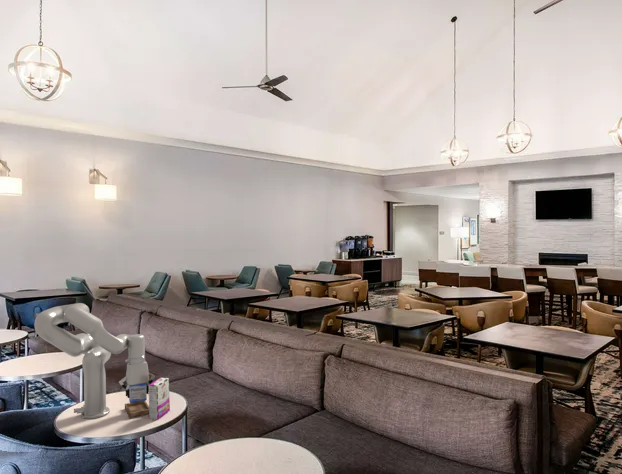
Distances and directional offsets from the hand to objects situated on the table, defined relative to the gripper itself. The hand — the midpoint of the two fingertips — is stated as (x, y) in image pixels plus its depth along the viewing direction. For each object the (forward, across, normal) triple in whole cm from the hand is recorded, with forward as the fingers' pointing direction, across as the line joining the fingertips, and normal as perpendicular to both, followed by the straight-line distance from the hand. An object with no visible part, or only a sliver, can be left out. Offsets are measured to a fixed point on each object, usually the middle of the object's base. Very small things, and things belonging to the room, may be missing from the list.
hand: (137, 395), depth 223 cm
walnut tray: (+8, 0, 0) cm, 8 cm away
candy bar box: (+9, +8, -10) cm, 15 cm away
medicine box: (+3, 0, 0) cm, 3 cm away
